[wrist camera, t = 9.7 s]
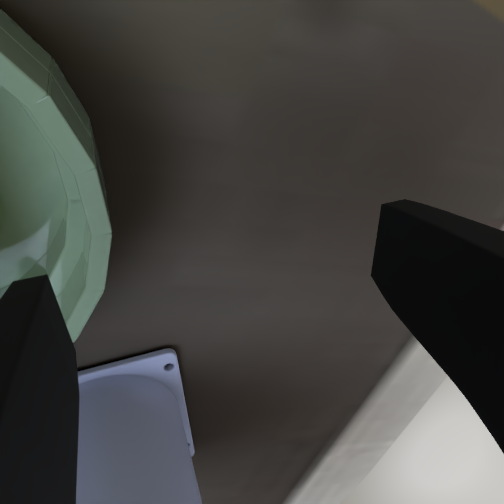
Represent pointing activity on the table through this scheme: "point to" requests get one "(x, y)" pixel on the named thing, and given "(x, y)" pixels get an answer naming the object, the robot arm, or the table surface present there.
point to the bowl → (49, 181)
